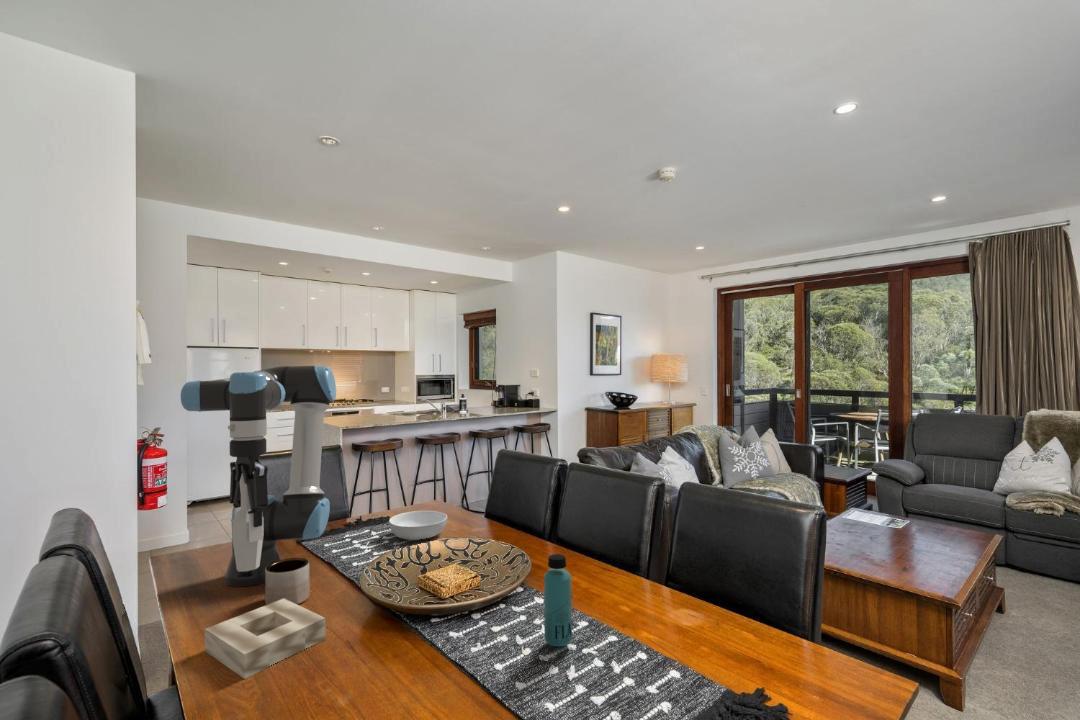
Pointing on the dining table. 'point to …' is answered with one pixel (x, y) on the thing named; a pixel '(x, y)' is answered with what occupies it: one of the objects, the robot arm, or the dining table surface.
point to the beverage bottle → (557, 602)
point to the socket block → (264, 636)
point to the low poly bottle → (245, 535)
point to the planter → (287, 580)
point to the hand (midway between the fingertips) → (248, 537)
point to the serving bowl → (418, 524)
